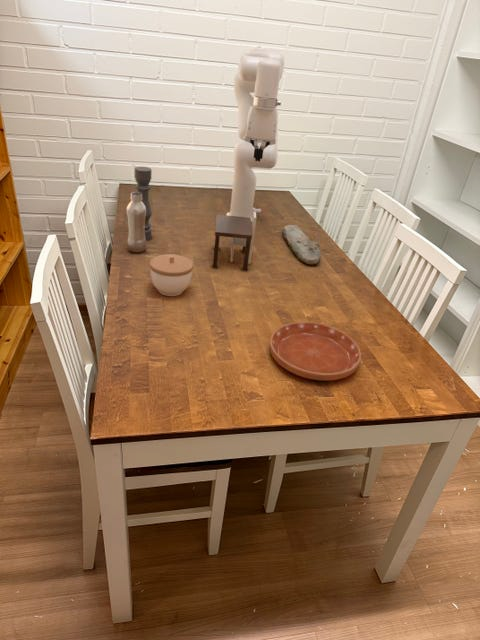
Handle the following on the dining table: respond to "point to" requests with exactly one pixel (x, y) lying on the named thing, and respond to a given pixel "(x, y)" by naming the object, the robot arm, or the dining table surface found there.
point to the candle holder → (144, 194)
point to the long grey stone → (302, 245)
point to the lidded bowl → (171, 273)
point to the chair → (244, 240)
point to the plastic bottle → (136, 223)
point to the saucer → (315, 351)
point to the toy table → (233, 234)
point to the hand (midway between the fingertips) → (257, 160)
